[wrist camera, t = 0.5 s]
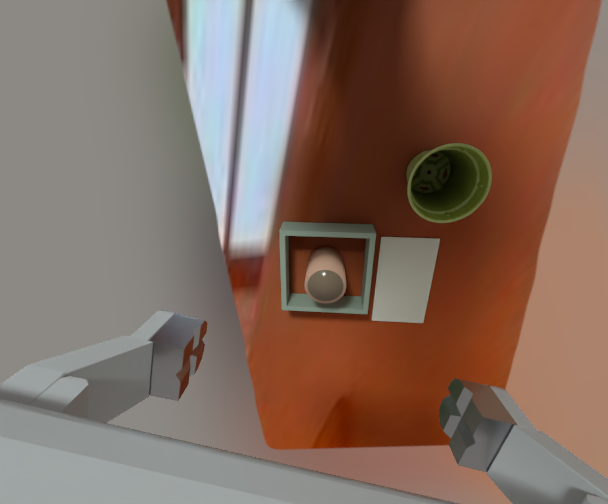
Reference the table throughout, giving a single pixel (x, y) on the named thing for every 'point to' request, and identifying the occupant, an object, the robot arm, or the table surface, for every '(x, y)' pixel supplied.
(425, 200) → the plant pot
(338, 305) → the frame
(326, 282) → the seedling pot
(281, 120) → the table surface
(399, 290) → the mat
